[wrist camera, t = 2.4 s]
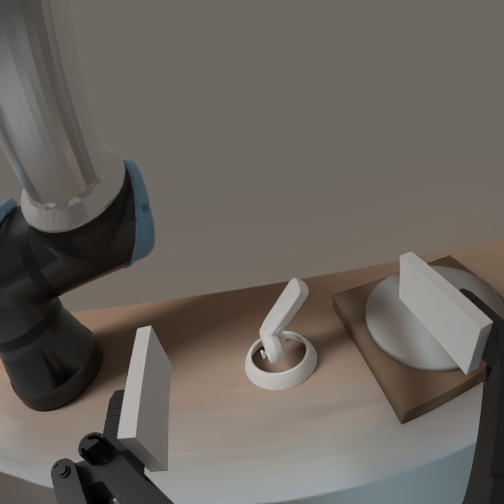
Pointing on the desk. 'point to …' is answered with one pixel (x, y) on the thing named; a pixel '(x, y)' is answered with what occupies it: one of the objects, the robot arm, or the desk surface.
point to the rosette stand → (410, 341)
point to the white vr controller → (282, 342)
